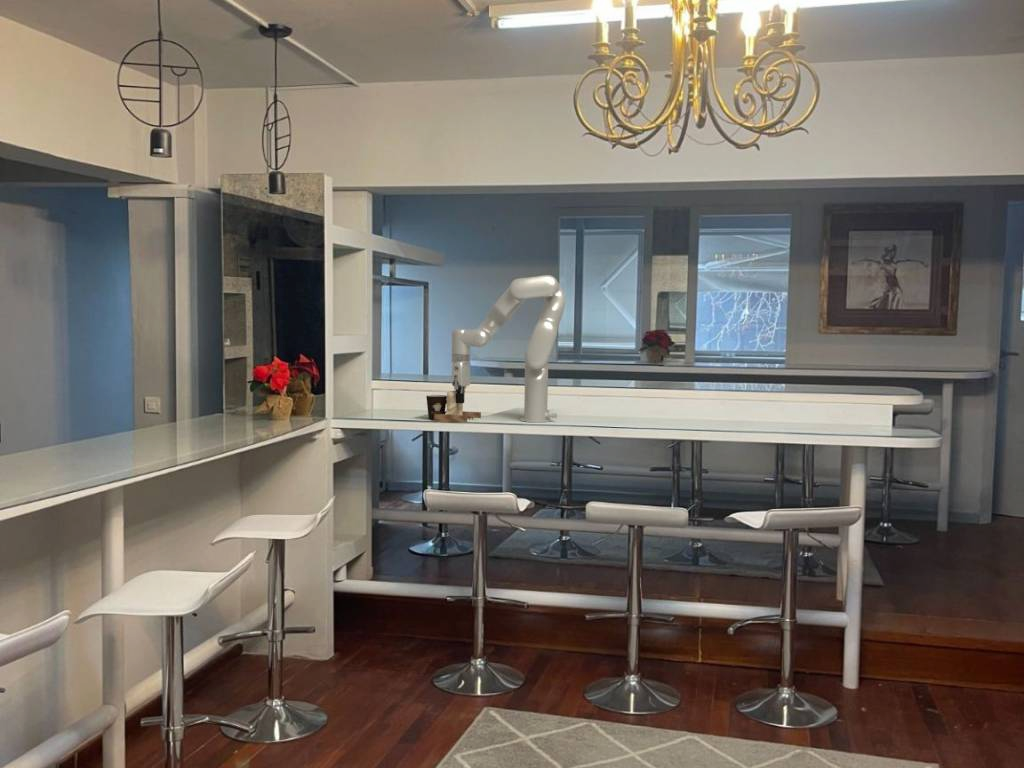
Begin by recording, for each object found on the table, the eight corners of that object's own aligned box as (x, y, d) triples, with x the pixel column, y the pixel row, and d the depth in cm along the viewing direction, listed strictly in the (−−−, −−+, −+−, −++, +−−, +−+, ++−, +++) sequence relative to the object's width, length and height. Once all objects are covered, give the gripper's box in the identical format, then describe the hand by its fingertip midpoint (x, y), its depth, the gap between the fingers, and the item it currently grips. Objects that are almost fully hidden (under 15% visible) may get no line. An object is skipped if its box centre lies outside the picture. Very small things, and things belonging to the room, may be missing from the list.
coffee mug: (423, 420, 396) (423, 396, 395) (429, 418, 404) (430, 394, 403) (449, 421, 393) (450, 397, 392) (456, 419, 401) (456, 395, 401)
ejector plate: (462, 418, 404) (462, 389, 403) (449, 421, 391) (450, 392, 390) (459, 418, 404) (459, 389, 403) (446, 421, 391) (446, 391, 390)
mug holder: (480, 419, 403) (480, 412, 403) (466, 423, 387) (466, 415, 387) (450, 417, 407) (450, 410, 407) (434, 421, 391) (434, 414, 391)
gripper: (462, 359, 387) (461, 404, 388) (475, 358, 401) (474, 402, 402) (445, 359, 389) (444, 404, 390) (459, 358, 403) (458, 401, 404)
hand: (460, 403), depth 396 cm, fingers closed
